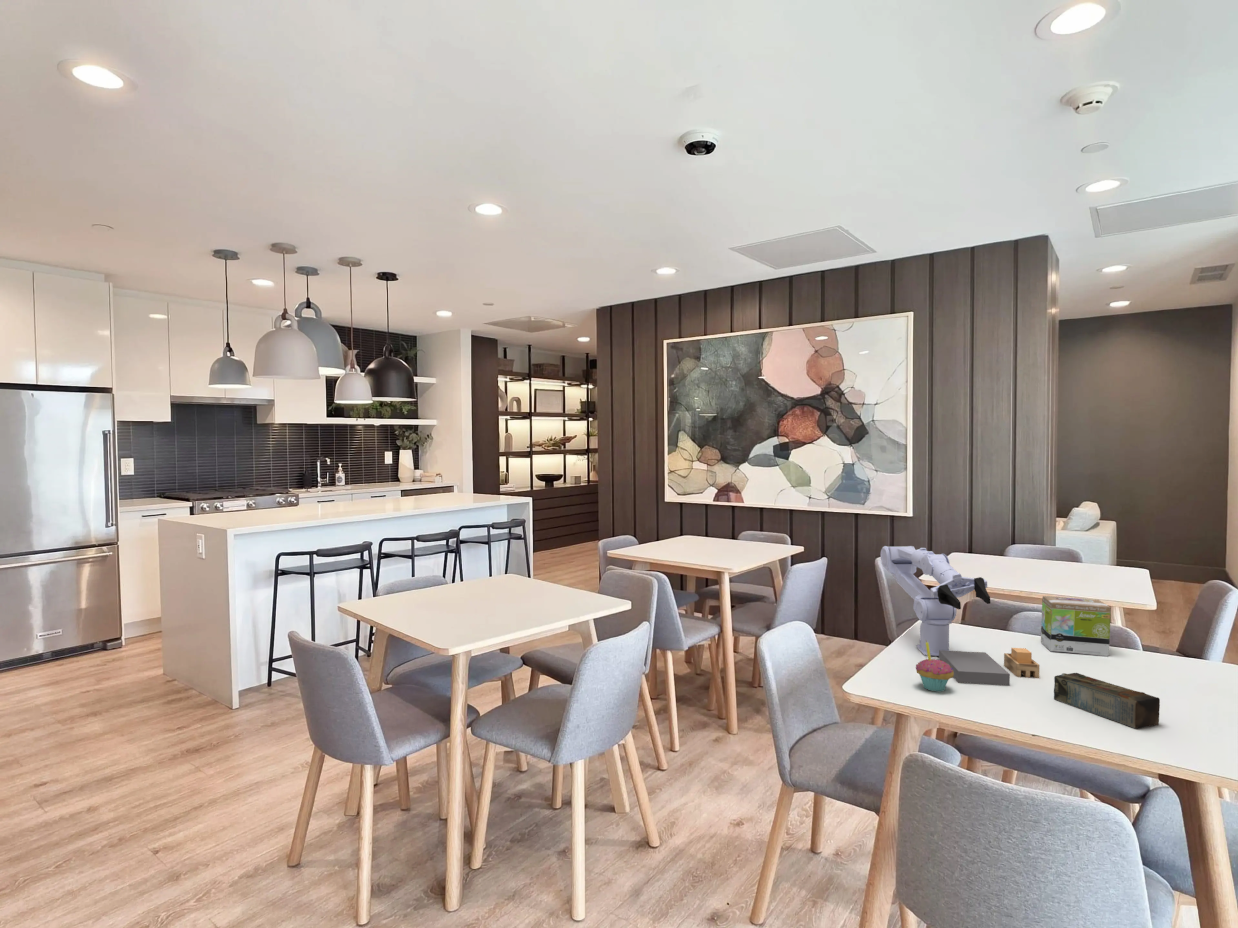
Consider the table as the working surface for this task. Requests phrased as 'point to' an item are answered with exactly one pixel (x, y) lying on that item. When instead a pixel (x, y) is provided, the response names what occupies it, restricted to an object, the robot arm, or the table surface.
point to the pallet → (1021, 667)
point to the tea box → (1075, 625)
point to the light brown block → (1021, 655)
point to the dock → (975, 668)
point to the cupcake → (934, 672)
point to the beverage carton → (1107, 700)
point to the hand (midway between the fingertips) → (974, 603)
